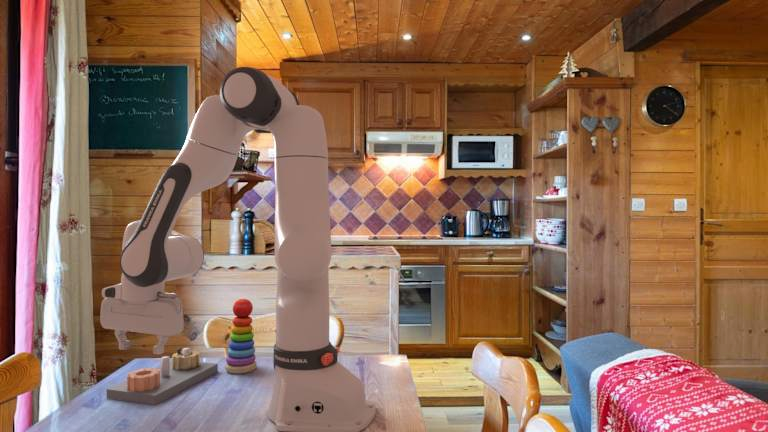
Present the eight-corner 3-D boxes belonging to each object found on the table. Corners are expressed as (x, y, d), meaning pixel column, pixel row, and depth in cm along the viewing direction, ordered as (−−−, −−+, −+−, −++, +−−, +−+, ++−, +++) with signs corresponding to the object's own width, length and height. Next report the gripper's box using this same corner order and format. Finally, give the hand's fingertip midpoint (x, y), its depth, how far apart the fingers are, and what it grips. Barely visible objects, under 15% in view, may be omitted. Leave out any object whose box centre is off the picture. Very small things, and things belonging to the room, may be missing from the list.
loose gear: (166, 382, 107) (166, 369, 107) (144, 393, 101) (144, 379, 101) (143, 379, 109) (143, 366, 109) (120, 389, 103) (120, 376, 103)
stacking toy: (247, 375, 117) (247, 302, 117) (219, 373, 119) (219, 301, 119) (261, 365, 125) (262, 297, 125) (234, 363, 127) (235, 295, 127)
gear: (205, 362, 121) (205, 346, 121) (188, 370, 114) (188, 354, 114) (184, 360, 123) (184, 344, 123) (166, 368, 116) (166, 351, 116)
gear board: (217, 371, 121) (217, 346, 121) (154, 404, 99) (154, 374, 99) (175, 366, 124) (176, 342, 124) (106, 398, 103) (106, 369, 103)
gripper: (191, 291, 105) (189, 352, 105) (118, 285, 111) (116, 343, 111) (171, 296, 99) (169, 360, 99) (95, 289, 104) (93, 350, 104)
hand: (141, 351), depth 105 cm, fingers open, 8 cm apart
